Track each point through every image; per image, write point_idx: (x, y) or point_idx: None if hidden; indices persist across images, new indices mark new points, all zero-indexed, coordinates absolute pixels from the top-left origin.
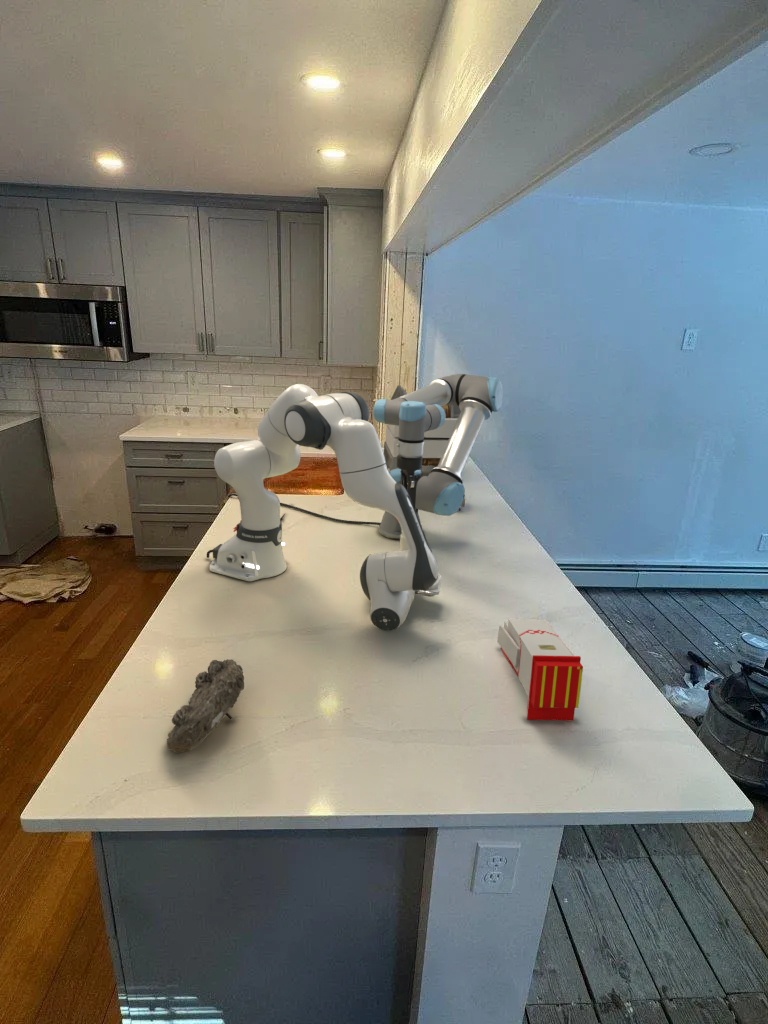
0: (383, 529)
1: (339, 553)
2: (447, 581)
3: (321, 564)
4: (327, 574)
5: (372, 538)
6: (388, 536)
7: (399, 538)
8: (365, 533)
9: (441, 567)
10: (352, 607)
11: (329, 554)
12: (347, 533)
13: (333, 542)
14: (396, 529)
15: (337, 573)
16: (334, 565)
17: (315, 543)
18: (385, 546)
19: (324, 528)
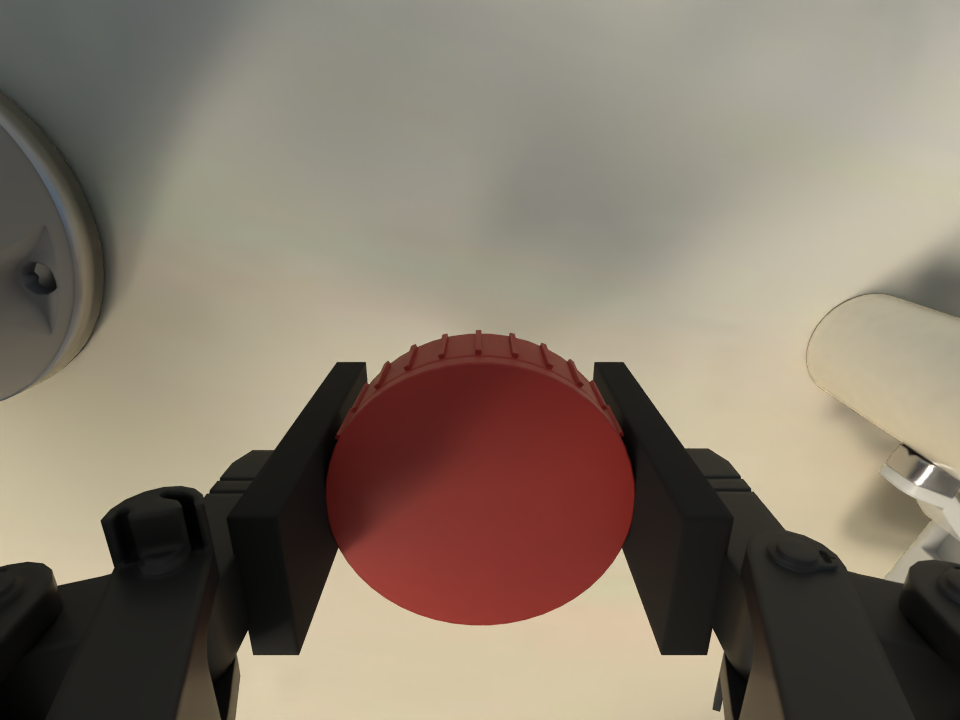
0: (5, 395)
1: (359, 624)
2: (838, 40)
3: (493, 696)
4: (604, 678)
5: (106, 445)
6: (74, 350)
7: (95, 274)
8: (26, 477)
9: (600, 27)
10: None
11: (374, 664)
12: (56, 573)
13: None
14: (22, 313)
15: (600, 642)
16: (508, 650)
17: (237, 713)
18: (232, 381)
19: None
